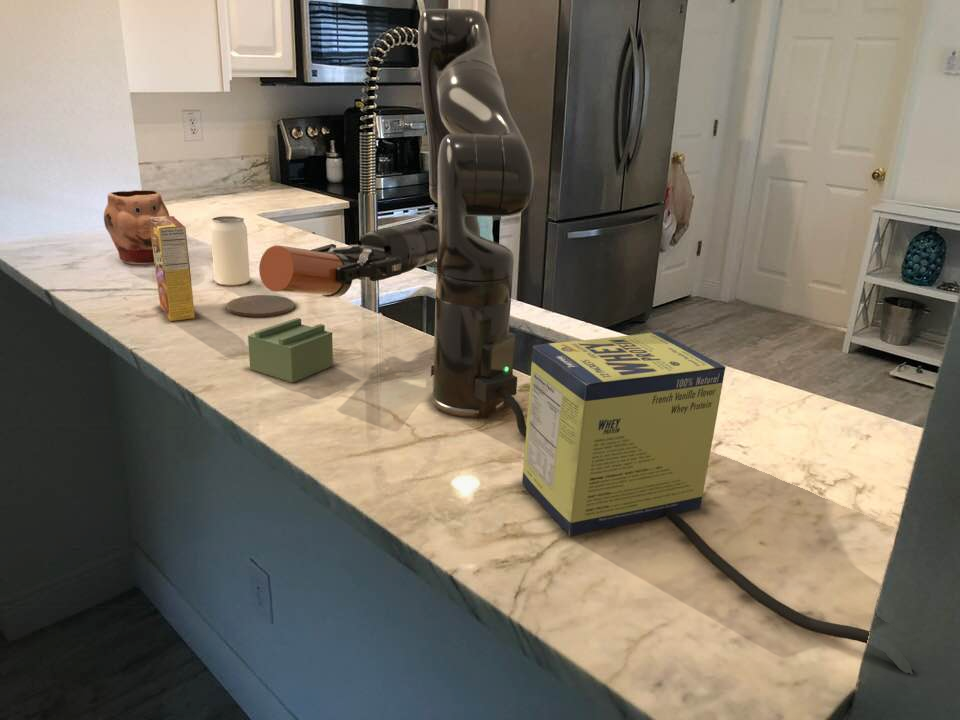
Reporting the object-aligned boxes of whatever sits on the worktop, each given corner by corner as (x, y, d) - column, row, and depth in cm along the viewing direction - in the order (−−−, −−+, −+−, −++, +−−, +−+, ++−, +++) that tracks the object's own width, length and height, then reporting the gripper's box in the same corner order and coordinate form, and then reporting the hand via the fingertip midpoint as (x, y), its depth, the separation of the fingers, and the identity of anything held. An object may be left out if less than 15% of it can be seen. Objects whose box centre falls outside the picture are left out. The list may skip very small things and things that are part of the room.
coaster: (306, 306, 133) (306, 302, 133) (259, 321, 124) (259, 317, 124) (261, 294, 138) (261, 291, 138) (213, 308, 129) (212, 304, 129)
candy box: (157, 306, 129) (147, 216, 123) (184, 304, 131) (175, 215, 125) (167, 322, 121) (157, 227, 116) (195, 318, 124) (187, 225, 118)
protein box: (703, 509, 76) (729, 364, 71) (568, 539, 70) (584, 383, 65) (643, 461, 85) (661, 330, 80) (518, 484, 79) (529, 343, 74)
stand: (333, 365, 107) (332, 326, 105) (292, 383, 101) (290, 342, 99) (291, 353, 111) (290, 315, 109) (249, 369, 105) (247, 329, 103)
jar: (315, 292, 111) (322, 249, 111) (348, 301, 108) (356, 256, 108) (254, 287, 101) (262, 240, 100) (290, 297, 98) (298, 248, 97)
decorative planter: (94, 252, 161) (85, 186, 156) (152, 246, 169) (146, 182, 164) (128, 273, 147) (120, 200, 142) (190, 265, 155) (184, 196, 150)
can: (239, 287, 142) (235, 223, 137) (207, 284, 143) (202, 220, 138) (256, 279, 148) (252, 217, 143) (225, 276, 149) (220, 214, 144)
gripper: (356, 221, 122) (279, 237, 108) (429, 234, 115) (358, 253, 101) (356, 267, 124) (282, 288, 111) (429, 282, 118) (358, 306, 104)
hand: (318, 271), depth 106 cm, fingers closed on jar, 6 cm apart
